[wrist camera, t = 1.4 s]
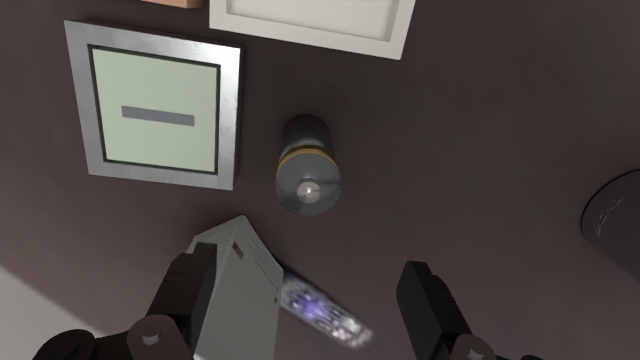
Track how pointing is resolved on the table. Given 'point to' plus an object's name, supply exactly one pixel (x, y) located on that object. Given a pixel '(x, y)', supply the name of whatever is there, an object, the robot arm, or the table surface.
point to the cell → (307, 167)
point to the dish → (181, 3)
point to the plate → (159, 108)
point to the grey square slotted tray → (105, 34)
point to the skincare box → (240, 296)
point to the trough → (321, 22)
